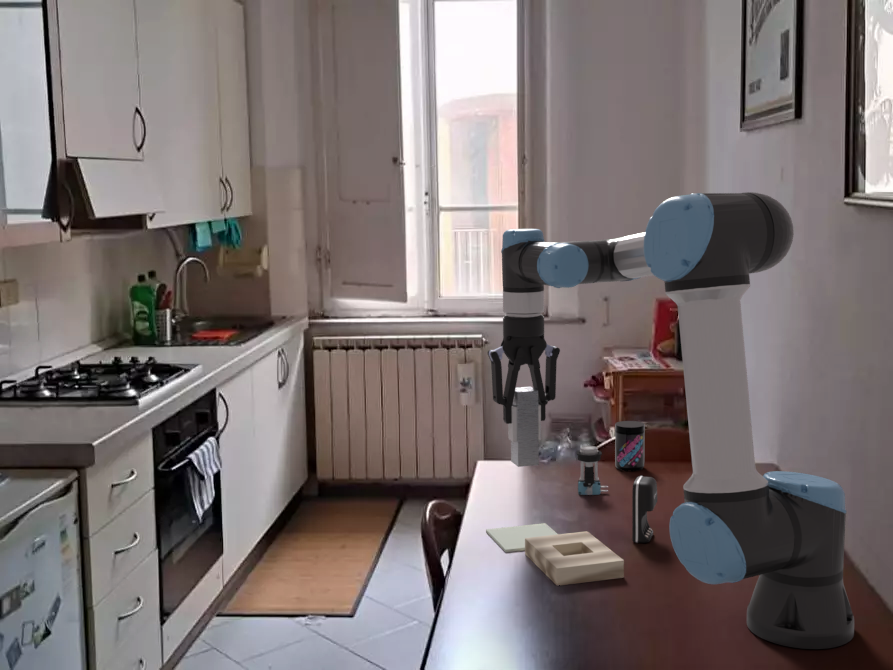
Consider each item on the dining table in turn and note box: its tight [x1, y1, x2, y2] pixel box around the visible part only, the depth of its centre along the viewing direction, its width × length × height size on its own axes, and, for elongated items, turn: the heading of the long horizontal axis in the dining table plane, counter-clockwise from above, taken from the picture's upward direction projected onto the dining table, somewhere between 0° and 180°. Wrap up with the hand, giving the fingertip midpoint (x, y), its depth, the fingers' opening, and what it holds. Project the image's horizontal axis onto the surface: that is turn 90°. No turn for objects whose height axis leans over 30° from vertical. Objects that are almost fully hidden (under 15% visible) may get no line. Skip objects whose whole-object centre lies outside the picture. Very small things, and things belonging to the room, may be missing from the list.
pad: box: [485, 522, 559, 553], centre depth 202 cm, size 12×12×1 cm
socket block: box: [524, 531, 625, 586], centre depth 187 cm, size 16×12×3 cm
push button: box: [576, 445, 609, 496], centre depth 229 cm, size 7×5×10 cm
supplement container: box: [614, 420, 646, 472], centre depth 248 cm, size 7×7×10 cm
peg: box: [510, 386, 540, 468], centre depth 199 cm, size 4×4×14 cm
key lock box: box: [631, 475, 658, 544], centre depth 200 cm, size 7×4×11 cm, turn 161°
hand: (524, 438), depth 199 cm, fingers closed on peg, 4 cm apart
